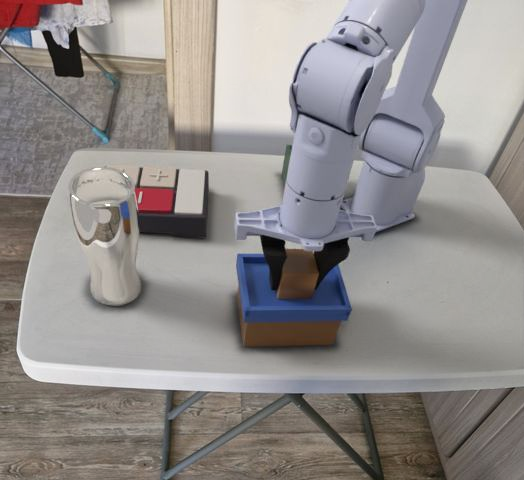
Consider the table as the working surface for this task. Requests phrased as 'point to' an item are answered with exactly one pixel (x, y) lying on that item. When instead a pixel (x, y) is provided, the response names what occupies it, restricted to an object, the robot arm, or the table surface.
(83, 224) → the beer glass
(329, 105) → the robot arm
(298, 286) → the block
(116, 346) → the table surface
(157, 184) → the calculator
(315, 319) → the lidded box
